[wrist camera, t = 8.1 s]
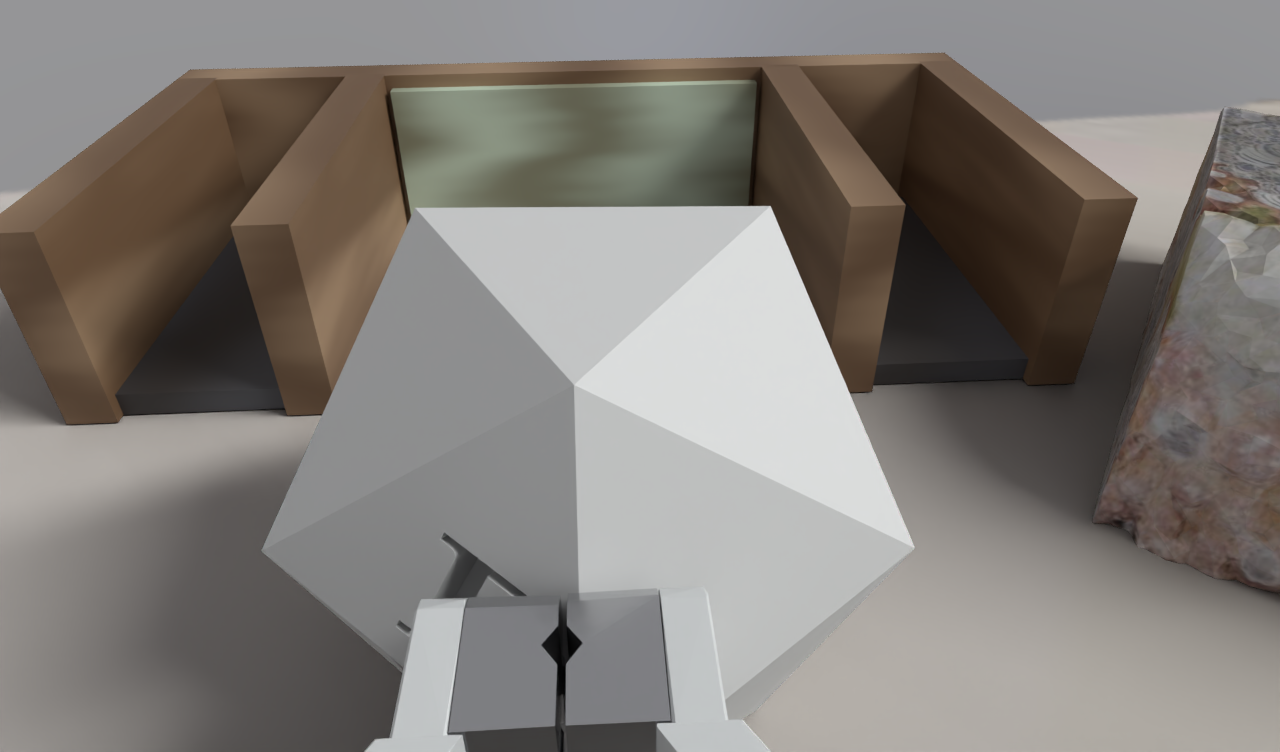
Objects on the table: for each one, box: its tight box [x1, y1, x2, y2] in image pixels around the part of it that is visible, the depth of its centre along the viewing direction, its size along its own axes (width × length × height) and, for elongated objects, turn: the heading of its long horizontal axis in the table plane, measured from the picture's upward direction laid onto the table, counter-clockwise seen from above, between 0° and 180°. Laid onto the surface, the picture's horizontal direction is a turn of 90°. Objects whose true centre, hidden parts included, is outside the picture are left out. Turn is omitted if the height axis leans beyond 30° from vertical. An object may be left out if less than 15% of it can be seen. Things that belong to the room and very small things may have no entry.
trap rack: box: [0, 53, 1138, 424], centre depth 25 cm, size 25×12×5 cm, turn 94°
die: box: [261, 206, 915, 752], centre depth 13 cm, size 8×9×10 cm
